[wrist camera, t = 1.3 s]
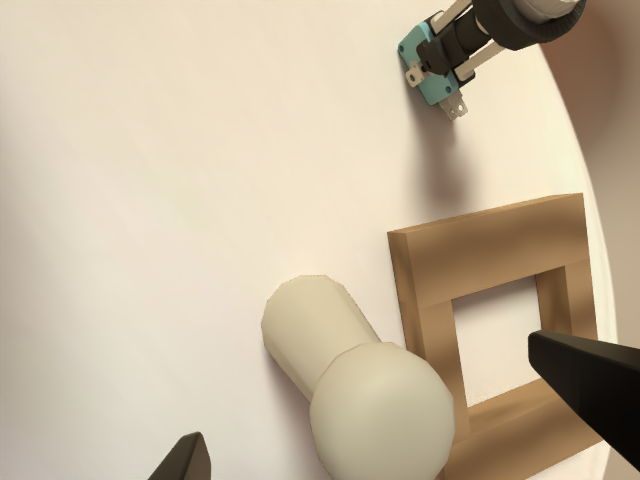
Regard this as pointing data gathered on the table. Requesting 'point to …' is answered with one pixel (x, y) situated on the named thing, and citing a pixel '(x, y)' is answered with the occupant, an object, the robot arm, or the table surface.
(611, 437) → the robot arm
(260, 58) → the table surface
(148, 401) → the table surface
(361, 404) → the salt shaker
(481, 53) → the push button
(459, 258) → the wooden flat frame
